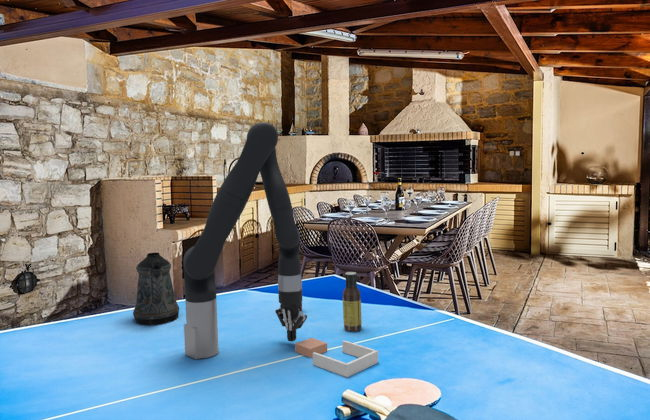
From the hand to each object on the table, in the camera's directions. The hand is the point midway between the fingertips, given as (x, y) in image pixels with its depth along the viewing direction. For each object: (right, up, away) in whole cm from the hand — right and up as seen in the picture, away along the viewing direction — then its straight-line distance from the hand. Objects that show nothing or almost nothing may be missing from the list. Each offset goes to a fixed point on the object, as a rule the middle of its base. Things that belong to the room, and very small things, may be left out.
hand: (291, 340), depth 167 cm
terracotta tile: (+6, -2, -6) cm, 9 cm away
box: (+16, -3, -16) cm, 23 cm away
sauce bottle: (+20, 0, +14) cm, 24 cm away
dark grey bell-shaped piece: (-52, +1, +29) cm, 59 cm away
